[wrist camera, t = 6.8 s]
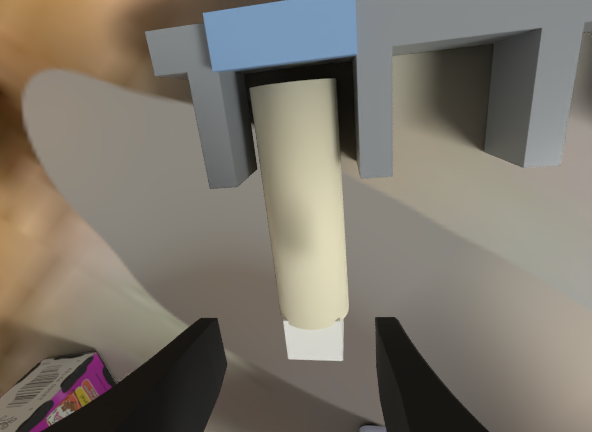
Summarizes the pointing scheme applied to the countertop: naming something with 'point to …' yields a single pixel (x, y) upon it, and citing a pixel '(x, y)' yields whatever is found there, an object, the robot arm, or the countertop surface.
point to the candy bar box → (53, 392)
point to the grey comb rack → (379, 69)
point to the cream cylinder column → (305, 211)
